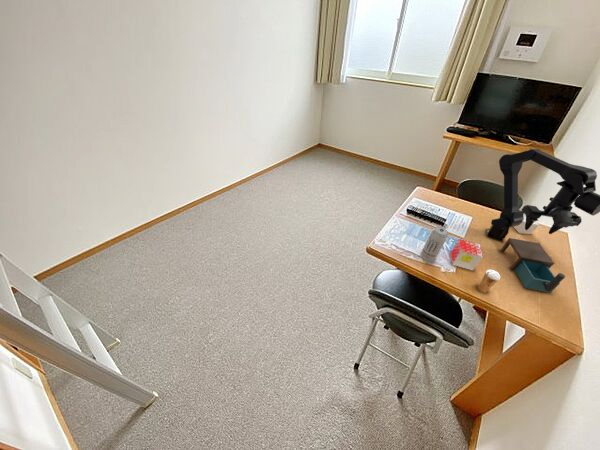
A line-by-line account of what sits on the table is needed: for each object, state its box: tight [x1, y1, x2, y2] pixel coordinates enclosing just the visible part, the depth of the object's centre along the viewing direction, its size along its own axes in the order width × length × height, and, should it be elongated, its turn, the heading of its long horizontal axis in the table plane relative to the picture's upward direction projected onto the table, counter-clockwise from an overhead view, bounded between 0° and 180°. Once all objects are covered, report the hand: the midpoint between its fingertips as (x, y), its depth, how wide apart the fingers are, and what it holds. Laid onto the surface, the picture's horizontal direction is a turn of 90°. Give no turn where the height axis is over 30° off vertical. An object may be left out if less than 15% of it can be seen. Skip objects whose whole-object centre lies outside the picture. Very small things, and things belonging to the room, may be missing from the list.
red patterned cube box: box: [450, 238, 484, 271], centre depth 111 cm, size 8×8×8 cm
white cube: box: [513, 216, 540, 235], centre depth 133 cm, size 6×6×6 cm
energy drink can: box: [419, 226, 449, 263], centre depth 109 cm, size 6×6×15 cm
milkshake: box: [477, 269, 501, 293], centre depth 99 cm, size 4×5×10 cm
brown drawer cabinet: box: [499, 237, 555, 271], centre depth 114 cm, size 12×12×8 cm
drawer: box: [514, 260, 566, 293], centre depth 103 cm, size 14×9×12 cm, turn 169°
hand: (537, 231), depth 112 cm, fingers open, 9 cm apart
